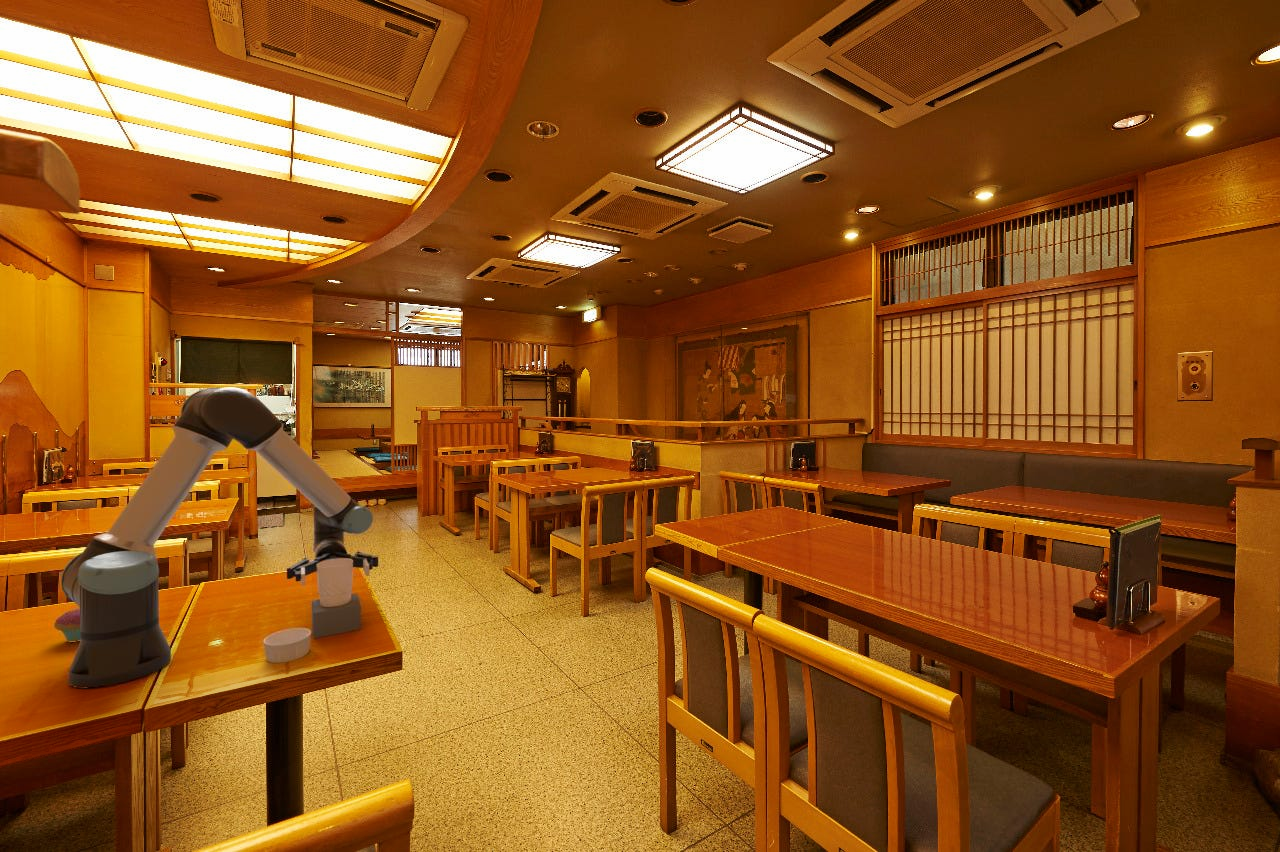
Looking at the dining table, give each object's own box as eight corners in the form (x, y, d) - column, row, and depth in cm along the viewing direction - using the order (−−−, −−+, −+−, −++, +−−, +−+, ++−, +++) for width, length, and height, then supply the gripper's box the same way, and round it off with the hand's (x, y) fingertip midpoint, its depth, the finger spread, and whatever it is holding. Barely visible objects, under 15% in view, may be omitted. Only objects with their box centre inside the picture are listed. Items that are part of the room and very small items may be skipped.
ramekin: (311, 659, 117) (310, 639, 116) (261, 668, 112) (260, 648, 112) (312, 643, 124) (312, 624, 124) (265, 651, 120) (265, 632, 120)
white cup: (360, 597, 137) (359, 558, 137) (340, 609, 129) (339, 567, 129) (331, 596, 138) (330, 557, 137) (309, 607, 130) (308, 566, 130)
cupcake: (109, 628, 132) (108, 579, 132) (105, 639, 126) (104, 588, 126) (58, 637, 127) (56, 587, 126) (51, 650, 120) (49, 596, 120)
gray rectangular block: (313, 638, 127) (312, 613, 126) (311, 624, 135) (311, 600, 135) (361, 629, 132) (360, 604, 132) (356, 616, 140) (356, 593, 140)
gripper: (381, 562, 156) (392, 581, 138) (276, 576, 142) (274, 600, 124) (380, 536, 155) (392, 552, 137) (276, 547, 142) (273, 567, 124)
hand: (336, 575), depth 131 cm, fingers open, 13 cm apart
